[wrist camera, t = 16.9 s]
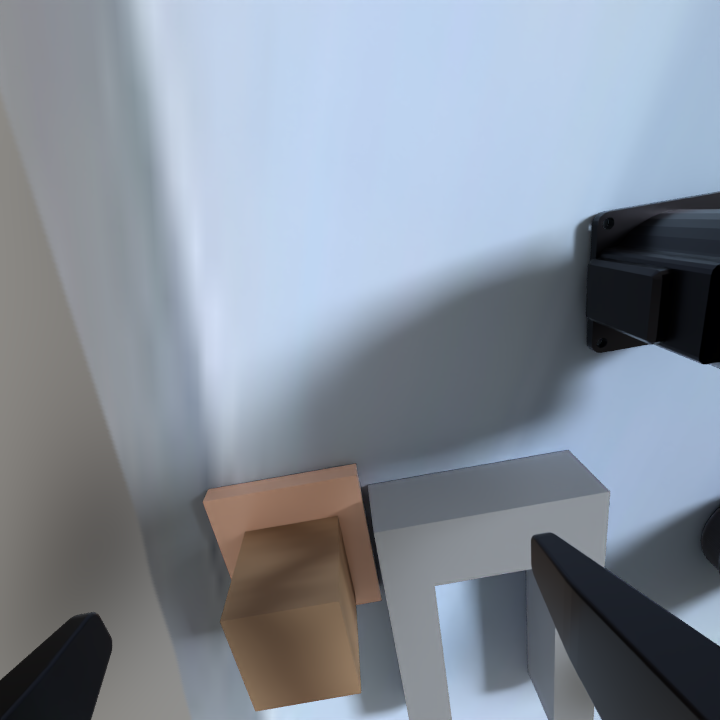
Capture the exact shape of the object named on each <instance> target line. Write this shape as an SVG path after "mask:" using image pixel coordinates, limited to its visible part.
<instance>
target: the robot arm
mask: <svg viewBox="0 0 720 720" xmlns="http://www.w3.org/2000/svg"><path fill="white" fill-rule="evenodd" d="M606 218H607V219H608V221H609V223H608V226H607V227H606V228H605V229H604V228H603V222H604V221H605V219H606ZM586 316H587V317H588V328H587V346H588V347H589V348H590V349H592V350H594V351H596V352H598V353H602V352H608V351H614V350H619V349H625V348H631V347H637V346H642V345H648V344H654V345H657V346H659V347H661V348H664V349H666V350H669V351H671V352H674V353H676V354H679V355H681V356H684V357H686V358H689V359H691V360H693V361H696V362H698V363H701V364H709V365H712V366H714V367H717V368H719V369H720V191H719V192H714V193H708V194H702V195H696V196H690V197H685V198H679V199H673V200H667V201H661V202H656V203H650V204H644V205H638V206H632V207H626V208H621V209H615V210H609V211H603V212H601V213H599V214H598V215H596V216H595V218H594V219H593V222H592V232H591V256H590V263H589V265H588V277H587V302H586ZM601 338H602V342H601V343H600V344H599V345H597V342H598V340H599V339H601ZM531 567H532V572H533V575H534V578H535V580H536V582H537V585H538V587H539V590H540V592H541V594H542V597H543V599H544V601H545V604H546V606H547V608H548V611H549V613H550V615H551V618H552V620H553V622H554V625H555V627H556V629H557V632H558V634H559V636H560V639H561V641H562V643H563V646H564V648H565V650H566V652H567V655H568V657H569V659H570V661H571V663H572V665H573V667H574V669H575V671H576V673H577V675H578V676H579V678H580V680H581V682H582V684H583V686H584V688H585V689H586V691H587V693H588V695H589V697H590V699H591V701H592V702H593V704H594V706H595V708H596V710H597V712H598V714H599V715H600V717H601V719H602V720H720V646H718V645H717V644H715V643H714V642H712V641H711V640H710V639H708V638H707V637H705V636H704V635H702V634H701V633H699V632H698V631H696V630H695V629H693V628H692V627H690V626H689V625H688V624H686V623H685V622H683V621H682V620H680V619H679V618H677V617H676V616H674V615H673V614H671V613H670V612H669V611H667V610H666V609H664V608H663V607H661V606H660V605H658V604H657V603H655V602H654V601H652V600H651V599H649V598H648V597H647V596H645V595H644V594H642V593H641V592H639V591H638V590H636V589H635V588H633V587H632V586H630V585H629V584H627V583H626V582H625V581H623V580H622V579H620V578H619V577H617V576H616V575H614V574H613V573H611V572H610V571H608V570H607V569H606V568H604V567H603V566H601V565H600V564H598V563H597V562H595V561H594V560H592V559H591V558H589V557H588V556H586V555H585V554H584V553H582V552H581V551H579V550H578V549H576V548H575V547H573V546H572V545H570V544H569V543H567V542H566V541H565V540H563V539H562V538H560V537H559V536H557V535H556V534H554V533H551V532H547V533H541V534H536V535H533V536H532V538H531ZM111 651H112V638H111V636H110V634H109V632H108V630H107V629H106V627H105V625H104V623H103V621H102V620H101V618H100V616H99V615H98V614H96V613H95V612H91V613H86V614H80V615H76V616H74V617H72V618H70V619H69V620H68V621H67V622H66V623H65V624H63V625H62V626H61V627H60V628H59V629H58V630H57V631H55V632H54V633H53V634H52V635H51V636H50V637H49V638H48V639H46V640H45V641H44V642H43V643H42V644H41V645H40V646H39V647H37V648H36V649H35V650H34V651H33V652H32V653H31V654H30V655H28V656H27V657H26V658H25V659H24V660H23V661H21V662H20V663H19V664H18V665H17V666H16V667H15V668H14V669H13V670H11V671H10V672H9V673H8V674H7V675H6V676H5V677H4V678H2V679H1V680H0V720H91V718H92V714H93V712H94V708H95V705H96V702H97V698H98V695H99V692H100V688H101V685H102V682H103V678H104V675H105V672H106V669H107V665H108V662H109V658H110V655H111Z"/></svg>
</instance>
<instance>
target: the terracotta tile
mask: <svg viewBox="0 0 720 720" xmlns="http://www.w3.org/2000/svg"><path fill="white" fill-rule="evenodd" d="M203 504H204V507H205V509H206V512H207V515H208V518H209V520H210V523H211V526H212V528H213V531H214V534H215V536H216V539H217V542H218V545H219V547H220V550H221V553H222V555H223V558H224V561H225V564H226V566H227V569H228V572H229V574H230V577H231V580H232V577H233V573H234V569H235V566H236V562H237V559H238V555H239V551H240V548H241V544H242V541H243V537H244V533H245V532H246V531H251V530H257V529H263V528H269V527H275V526H281V525H287V524H293V523H298V522H304V521H310V520H316V519H322V518H328V517H334V516H338V519H339V523H340V528H341V532H342V537H343V541H344V546H345V550H346V555H347V560H348V564H349V569H350V573H351V578H352V582H353V587H354V591H355V596H356V605H360V604H365V603H371V602H377V601H382V599H381V591H380V584H379V579H378V574H377V569H376V564H375V558H374V553H373V548H372V543H371V538H370V533H369V528H368V522H367V517H366V512H365V507H364V502H363V497H362V492H361V486H360V481H359V476H358V471H357V466H356V464H351V465H345V466H339V467H333V468H328V469H322V470H316V471H310V472H305V473H299V474H293V475H287V476H282V477H276V478H270V479H264V480H259V481H253V482H247V483H241V484H236V485H230V486H224V487H219V488H213V489H208V491H207V494H206V496H205V498H204V500H203Z"/></svg>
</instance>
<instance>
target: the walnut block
mask: <svg viewBox="0 0 720 720" xmlns="http://www.w3.org/2000/svg"><path fill="white" fill-rule="evenodd" d="M220 623H221V626H222V628H223V631H224V633H225V636H226V638H227V641H228V643H229V646H230V648H231V651H232V653H233V656H234V658H235V661H236V663H237V666H238V669H239V671H240V674H241V676H242V679H243V681H244V684H245V686H246V689H247V691H248V694H249V696H250V699H251V701H252V704H253V706H254V709H255V711H261V710H267V709H272V708H278V707H284V706H290V705H296V704H301V703H307V702H313V701H319V700H324V699H330V698H336V697H342V696H348V695H353V694H359V693H361V679H360V662H359V645H358V628H357V611H356V596H355V591H354V587H353V582H352V578H351V573H350V569H349V564H348V560H347V555H346V550H345V546H344V541H343V537H342V532H341V528H340V523H339V519H338V516H334V517H328V518H322V519H316V520H310V521H304V522H298V523H293V524H287V525H281V526H275V527H269V528H263V529H257V530H251V531H246V532H245V533H244V537H243V541H242V544H241V548H240V551H239V555H238V559H237V562H236V566H235V569H234V573H233V577H232V580H231V584H230V587H229V591H228V595H227V598H226V602H225V605H224V609H223V613H222V616H221V620H220Z"/></svg>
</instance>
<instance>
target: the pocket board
mask: <svg viewBox="0 0 720 720" xmlns="http://www.w3.org/2000/svg"><path fill="white" fill-rule="evenodd" d="M368 492H369V500H370V507H371V515H372V523H373V531H374V537H375V542H376V547H377V553H378V558H379V563H380V568H381V574H382V579H383V584H384V590H385V595H386V600H387V605H388V611H389V616H390V621H391V626H392V632H393V637H394V642H395V648H396V653H397V658H398V663H399V669H400V674H401V679H402V684H403V690H404V695H405V700H406V706H407V711H408V716H409V720H452V717H451V709H450V702H449V694H448V686H447V678H446V670H445V663H444V655H443V647H442V639H441V632H440V624H439V616H438V608H437V601H436V593H435V586H438V585H443V584H449V583H455V582H460V581H466V580H472V579H478V578H483V577H489V576H495V575H500V574H506V573H512V572H517V571H523V570H526V600H527V653H528V673H529V676H530V678H531V680H532V683H533V685H534V687H535V690H536V692H537V694H538V697H539V699H540V701H541V704H542V706H543V708H544V711H545V713H546V715H547V718H548V720H593V717H594V704H593V702H592V701H591V699H590V697H589V695H588V693H587V691H586V689H585V688H584V686H583V684H582V682H581V680H580V678H579V676H578V675H577V673H576V671H575V669H574V667H573V665H572V663H571V661H570V659H569V657H568V655H567V652H566V650H565V648H564V646H563V643H562V641H561V639H560V636H559V634H558V632H557V629H556V627H555V625H554V622H553V620H552V618H551V615H550V613H549V611H548V608H547V606H546V604H545V601H544V599H543V597H542V594H541V592H540V590H539V587H538V585H537V582H536V580H535V578H534V575H533V572H532V567H531V538H532V536H533V535H536V534H541V533H547V532H551V533H554V534H556V535H557V536H559V537H560V538H562V539H563V540H565V541H566V542H567V543H569V544H570V545H572V546H573V547H575V548H576V549H578V550H579V551H581V552H582V553H584V554H585V555H586V556H588V557H589V558H591V559H592V560H594V561H595V562H597V563H598V564H600V565H601V566H603V567H605V554H606V540H607V527H608V513H609V499H610V491H609V490H608V489H607V488H606V487H605V486H604V485H603V484H602V483H601V482H600V481H599V480H598V479H597V478H596V477H595V476H594V475H593V474H592V473H591V472H590V471H589V470H588V469H587V468H586V467H585V466H584V465H583V464H582V463H581V462H580V461H579V460H578V459H577V458H576V457H575V456H574V455H573V454H572V453H571V452H570V451H569V450H566V451H560V452H555V453H549V454H543V455H537V456H532V457H526V458H520V459H514V460H509V461H503V462H497V463H492V464H486V465H480V466H474V467H469V468H463V469H457V470H451V471H446V472H440V473H434V474H428V475H423V476H417V477H411V478H406V479H400V480H394V481H388V482H383V483H377V484H371V485H368Z"/></svg>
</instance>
